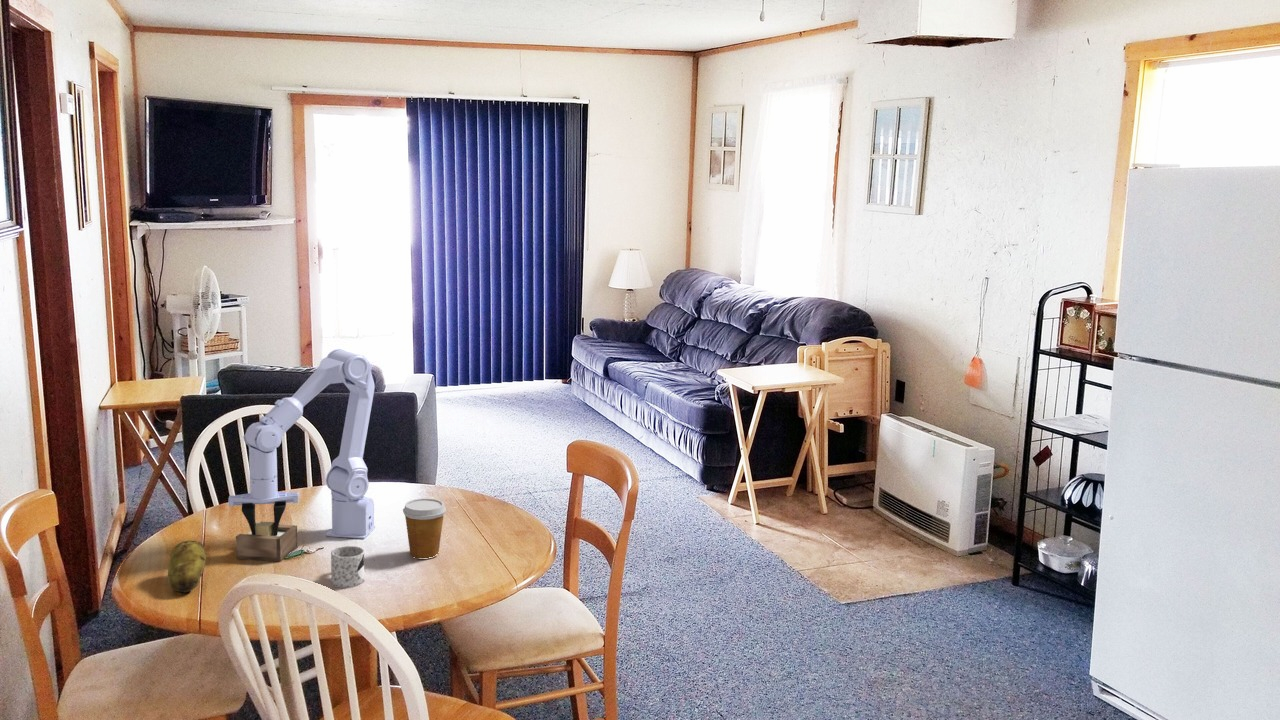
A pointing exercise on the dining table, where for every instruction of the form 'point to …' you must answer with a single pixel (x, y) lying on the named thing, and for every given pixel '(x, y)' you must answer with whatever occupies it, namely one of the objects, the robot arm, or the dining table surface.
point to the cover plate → (266, 529)
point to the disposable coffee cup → (424, 526)
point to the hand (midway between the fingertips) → (265, 534)
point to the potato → (186, 565)
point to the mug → (347, 566)
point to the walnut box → (267, 545)
